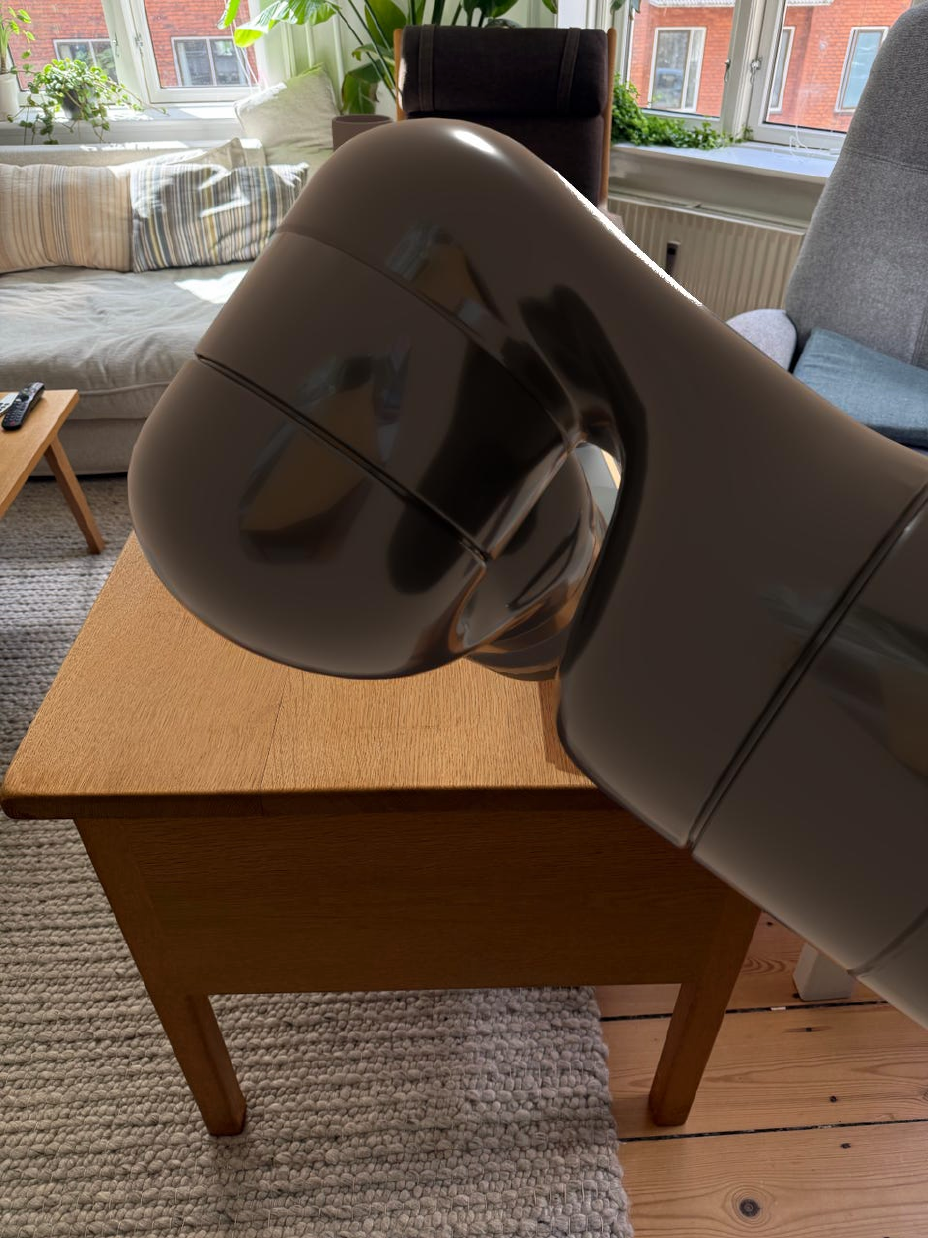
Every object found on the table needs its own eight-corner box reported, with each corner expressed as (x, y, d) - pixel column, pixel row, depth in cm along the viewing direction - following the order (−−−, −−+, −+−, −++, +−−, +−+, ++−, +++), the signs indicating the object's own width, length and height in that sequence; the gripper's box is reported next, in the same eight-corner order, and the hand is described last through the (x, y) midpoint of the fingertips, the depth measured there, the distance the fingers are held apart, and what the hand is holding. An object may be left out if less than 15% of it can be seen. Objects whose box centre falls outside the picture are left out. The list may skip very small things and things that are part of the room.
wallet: (495, 434, 108) (614, 434, 109) (494, 448, 109) (613, 447, 110) (506, 517, 92) (646, 515, 93) (505, 532, 93) (644, 530, 94)
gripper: (337, 634, 34) (444, 672, 51) (671, 711, 31) (669, 724, 47) (382, 455, 35) (474, 550, 52) (714, 511, 31) (697, 593, 48)
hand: (567, 634), depth 49 cm, fingers closed
